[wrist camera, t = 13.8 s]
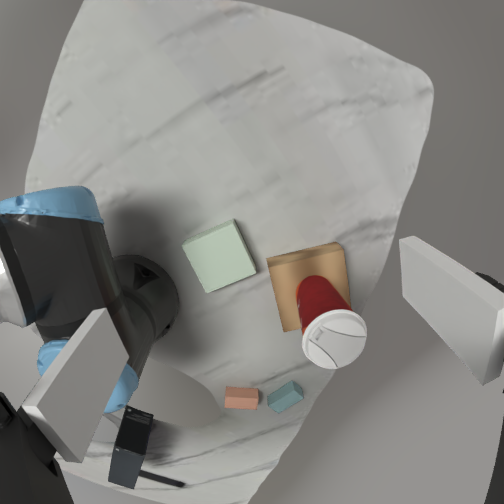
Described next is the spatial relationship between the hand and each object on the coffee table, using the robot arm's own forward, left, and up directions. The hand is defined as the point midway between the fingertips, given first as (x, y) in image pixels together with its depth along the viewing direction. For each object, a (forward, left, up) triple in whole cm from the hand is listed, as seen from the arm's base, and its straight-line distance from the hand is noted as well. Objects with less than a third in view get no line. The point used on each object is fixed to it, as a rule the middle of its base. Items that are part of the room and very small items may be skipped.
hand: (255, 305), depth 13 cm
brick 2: (-2, -38, -35) cm, 52 cm away
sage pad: (-6, -8, -35) cm, 36 cm away
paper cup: (+6, -16, -31) cm, 35 cm away
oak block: (+6, -16, -35) cm, 39 cm away
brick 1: (-10, -36, -35) cm, 51 cm away
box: (-37, -44, -35) cm, 67 cm away
